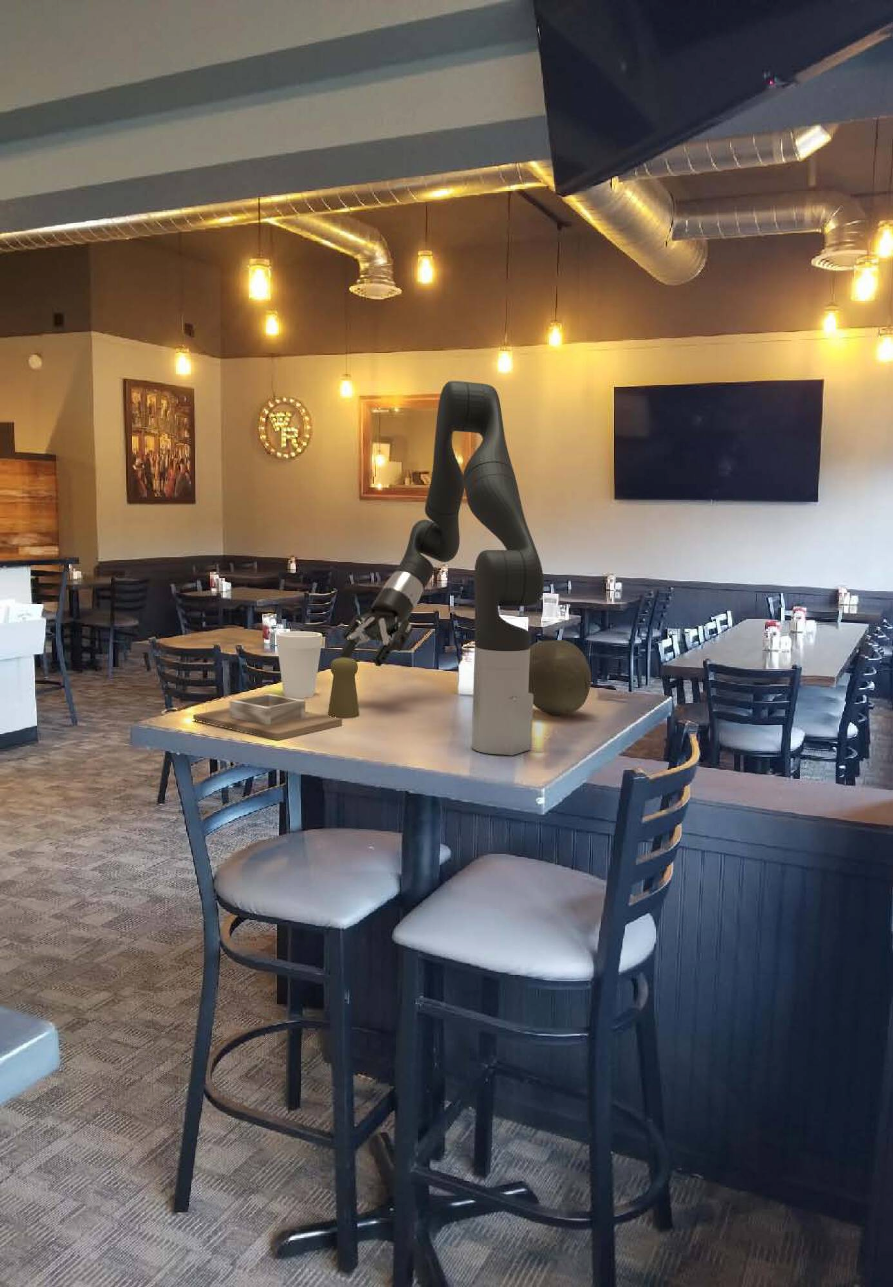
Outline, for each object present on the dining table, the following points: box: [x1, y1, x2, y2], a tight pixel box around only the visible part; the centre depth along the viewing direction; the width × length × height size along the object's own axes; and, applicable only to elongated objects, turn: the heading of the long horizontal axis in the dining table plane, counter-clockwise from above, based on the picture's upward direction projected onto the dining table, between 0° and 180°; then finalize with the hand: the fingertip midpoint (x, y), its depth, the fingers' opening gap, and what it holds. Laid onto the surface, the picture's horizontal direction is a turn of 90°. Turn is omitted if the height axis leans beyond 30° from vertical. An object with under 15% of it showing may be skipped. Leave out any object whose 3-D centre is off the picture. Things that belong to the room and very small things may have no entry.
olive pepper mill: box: [327, 657, 360, 719], centre depth 184 cm, size 6×6×11 cm
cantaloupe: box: [528, 639, 592, 717], centre depth 189 cm, size 14×14×15 cm
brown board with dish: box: [192, 693, 343, 741], centre depth 176 cm, size 22×16×4 cm
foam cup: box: [275, 630, 323, 699], centre depth 202 cm, size 10×9×13 cm
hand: (359, 661), depth 187 cm, fingers open, 8 cm apart
